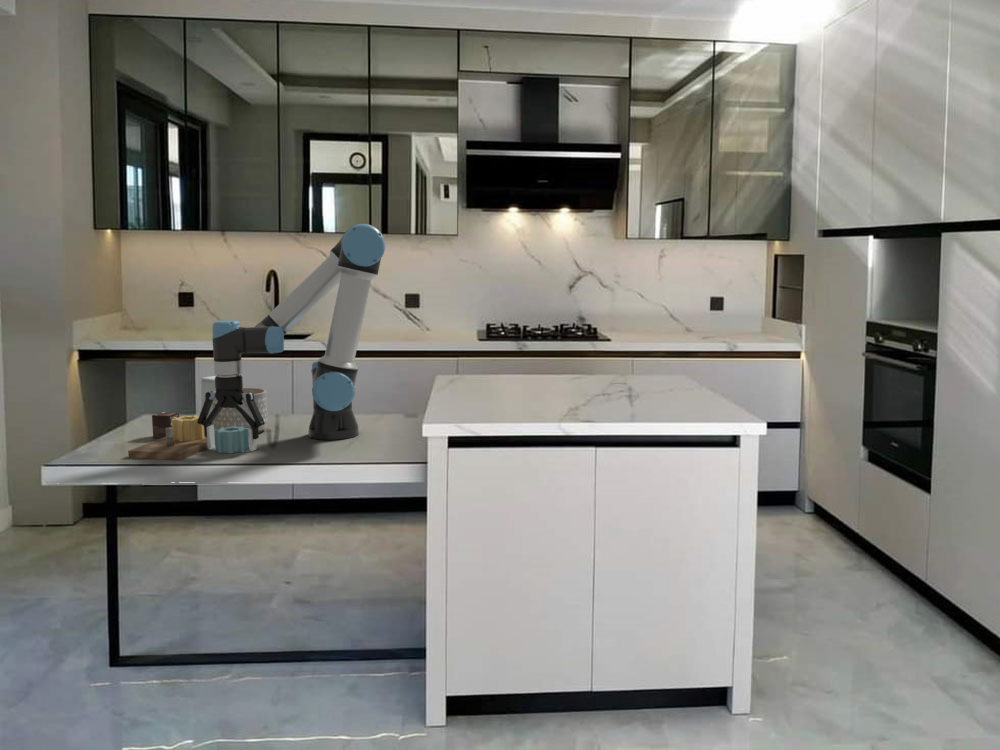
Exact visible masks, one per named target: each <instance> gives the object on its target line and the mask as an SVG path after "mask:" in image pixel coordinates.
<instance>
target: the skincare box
mask: <svg viewBox="0 0 1000 750" xmlns="http://www.w3.org/2000/svg"><path fill="white" fill-rule="evenodd" d="M216 376H217V375H215V376H214V375H210V376H206V377H205V376H203V377H201V378H200V380H201V381H200V382H201V383H200V384H201V409H202V408H203V405H204V402H205V394H206V393H207V392H210V391H213V392H215V391H216V388H215V377H216ZM212 410H213V408H212V405H211V408H210V410H209V413H208V416H209V415H210V413H211V412H212ZM208 416H207V417H208ZM206 419H207V418H206ZM211 424H213V422H212V423H211Z"/></svg>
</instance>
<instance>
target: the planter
mask: <svg viewBox="0 0 1000 750" xmlns="http://www.w3.org/2000/svg"><path fill="white" fill-rule="evenodd" d="M242 391H243V393H244V394H245V393H250V392H252V393H253V394H254V400H255V403H256V405H257V407H258V409H259V411H260V413H261V415H262V418H263V420H264V422H265V424H264V425H262V426H259V428H258V431H259V434H260V433H261V432H263V431H264V430H265V429H267V428H268V427H269V421H268V420H269V418H268V400H267V399H268V397H267V390H266V389H264V388H260V387H259V388H258V387H243V388H242ZM214 393H216V391H215V392H214ZM242 401H243V402H244V404H245V405H246V408H247V409H248V410H249V412H250V413H251V411H250V409H249V407H248V405H247V402H246V400H245V399H244V398H243V400H242ZM217 402H218V400H217V399H216V398H214V399H213V402H212V408H213V409H214V407H215V405H216V403H217ZM251 414H252V413H251ZM252 416H253V415H252ZM212 425H214V432H215V430H219V429H220V428H222V427H224V428H227V427H231V426H235V427H243V426H244V427H246V428H248V432H249V428H251V426H250V425H249V424H248V422H247V421H246V420H245V418H244V417H243V416H242V414H241V413H240V412H239V411H238V410H237V409H236V408H229V407H228V408H222V409H221V411H220V412H219V413H218V415H217V416H216V418H215V419H214V421H213V423H212Z"/></svg>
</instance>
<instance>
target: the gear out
mask: <svg viewBox="0 0 1000 750" xmlns="http://www.w3.org/2000/svg"><path fill="white" fill-rule="evenodd" d="M199 416H200V415H199V414H194V415H181V416H179V417H174V418H173V419H172V420H171V421H172V428H173V438H174V440H179V441H181V442H182V441H195V440H197V439H204V437H205V433H204V426H203V425H201V424H198V423H197V421H198V418H199Z"/></svg>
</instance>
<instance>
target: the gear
mask: <svg viewBox="0 0 1000 750" xmlns="http://www.w3.org/2000/svg"><path fill="white" fill-rule="evenodd" d="M214 433H215V452H218V454H223V453H228V454H234V453H244V452H246V451H247V450H249V451H250V445H249V432H248V428H246V427H244V426H243V427H235V426H231V427H227V428H224V427H222V428H220V429H219V430H215V431H214Z"/></svg>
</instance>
